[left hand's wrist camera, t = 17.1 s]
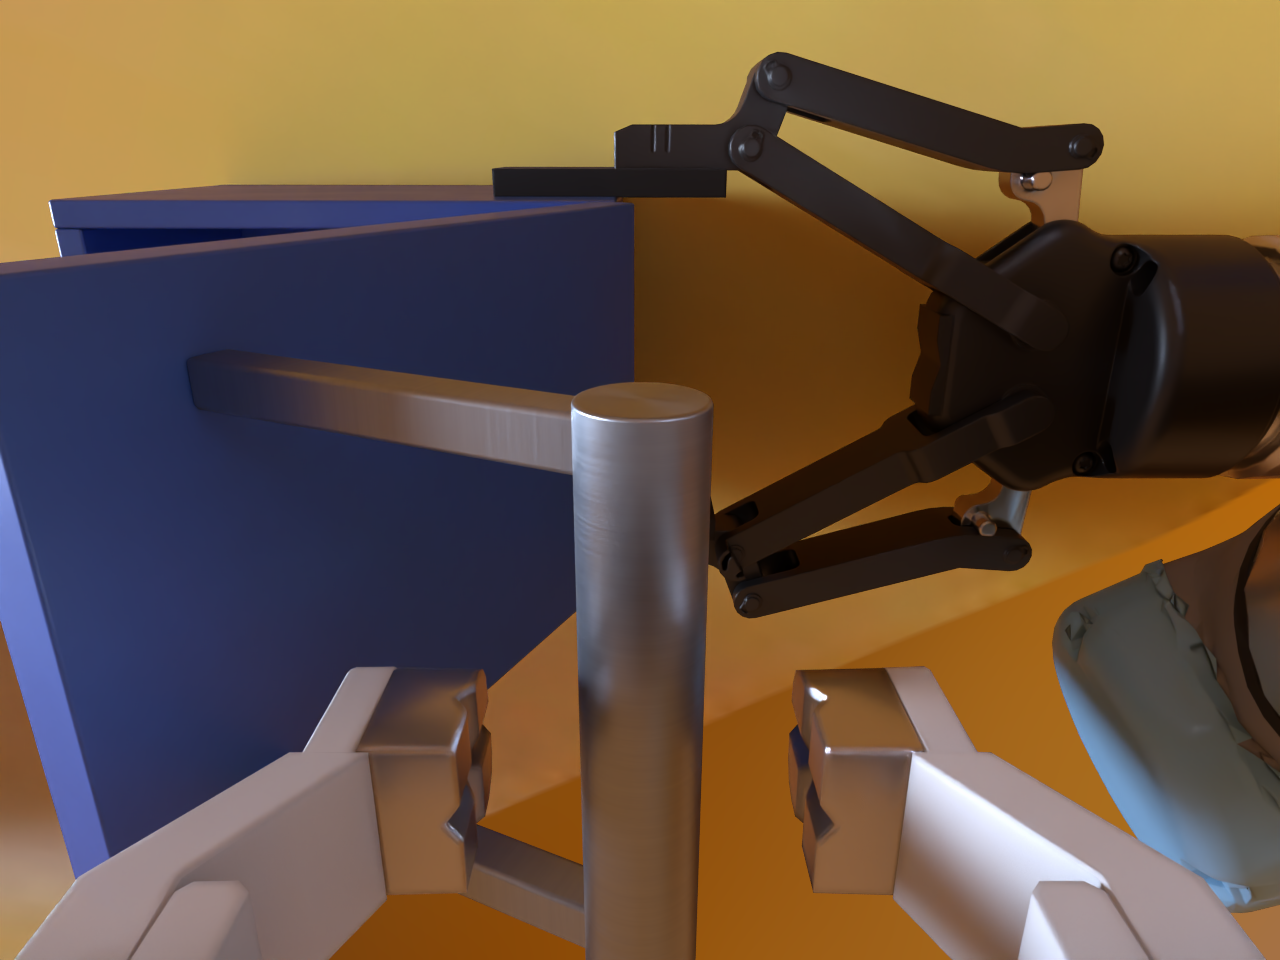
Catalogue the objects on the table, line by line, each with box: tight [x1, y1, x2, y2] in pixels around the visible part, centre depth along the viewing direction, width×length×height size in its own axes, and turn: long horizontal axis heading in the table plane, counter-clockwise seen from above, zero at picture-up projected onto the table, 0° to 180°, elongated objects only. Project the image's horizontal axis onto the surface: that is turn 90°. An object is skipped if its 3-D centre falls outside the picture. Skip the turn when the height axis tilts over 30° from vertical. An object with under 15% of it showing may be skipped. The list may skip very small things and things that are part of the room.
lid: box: [0, 202, 713, 960], centre depth 16 cm, size 15×10×8 cm
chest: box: [49, 185, 623, 257], centre depth 29 cm, size 15×10×10 cm
